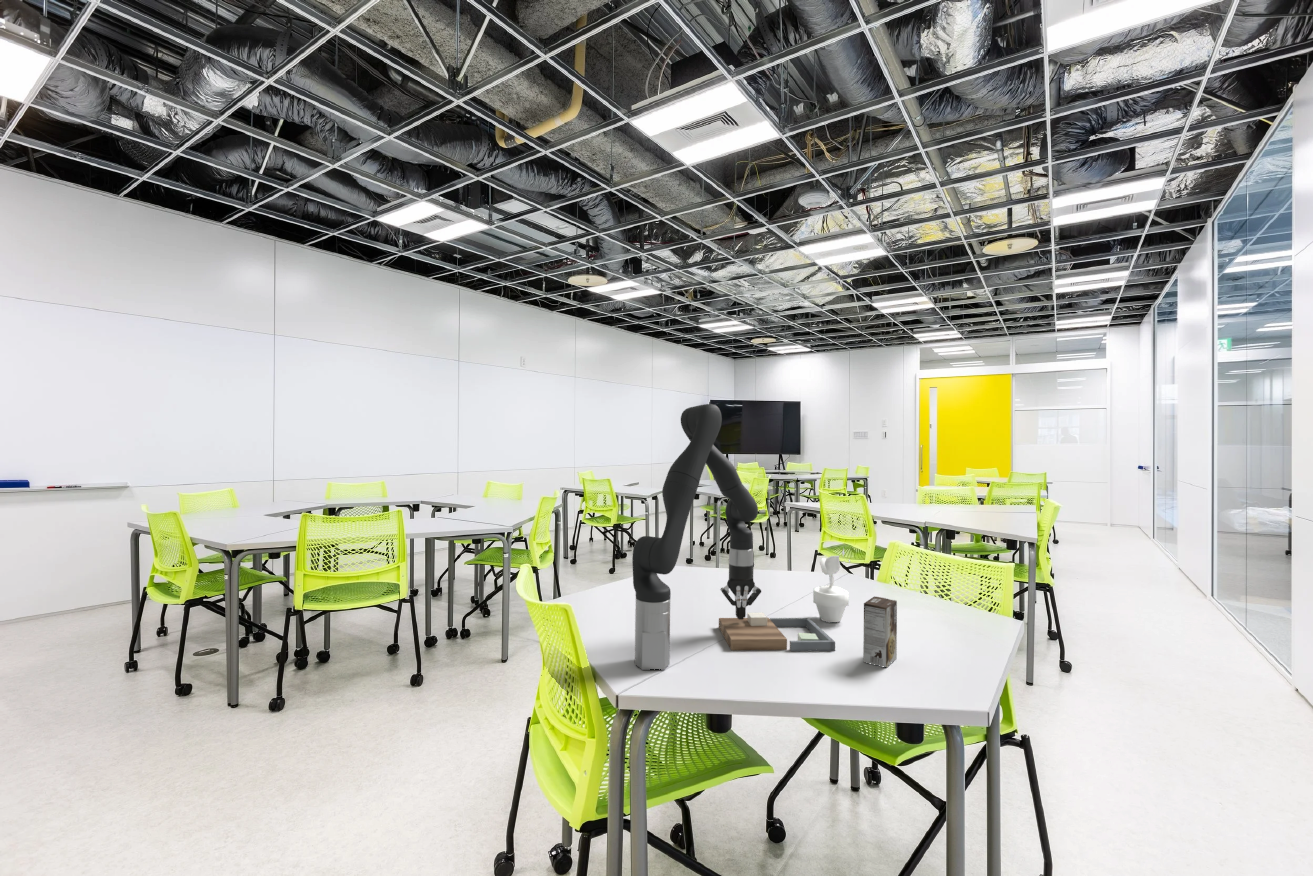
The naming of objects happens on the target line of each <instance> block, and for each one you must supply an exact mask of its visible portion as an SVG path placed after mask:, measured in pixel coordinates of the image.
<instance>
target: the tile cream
mask: <svg viewBox="0 0 1313 876" xmlns="http://www.w3.org/2000/svg"><path fill="white" fill-rule="evenodd" d="M746 616H747V617H746V618H747V621H748V622H749V624H750V625H751V626H767V618H768V616H767V615H766V614H765V613H764V612H747V614H746Z"/></svg>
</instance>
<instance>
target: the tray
mask: <svg viewBox="0 0 1313 876" xmlns="http://www.w3.org/2000/svg"><path fill="white" fill-rule="evenodd" d="M769 619H770V620H771V621H772V622H773V624H774V625H775V626H776V627H777V628H797V627H798V628H802V627H803V628H805V627H806V628H807V630H809V631H810V632H811V633H812V634H816V636H817V637H818V639H819V640H818V641H798V640H789V650H790V652H824V651H825V652H826V651H827V652H828V651H829V652H830V651H831V652H833V651H836V641H835V640H834V639H833V638H832V637H831V636H830V635H829V634H828V633H826V632H825V631H824V630H823V629H822V628H820V627H819V625H817V624H816V623H815V622H814V621H813V620H812V619H811V618H809V617H769Z"/></svg>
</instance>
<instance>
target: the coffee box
mask: <svg viewBox="0 0 1313 876" xmlns="http://www.w3.org/2000/svg"><path fill="white" fill-rule="evenodd" d="M897 610H898V602H897V600H895V599H890V598H886V597H881V596H880V597H879V596H873V597H871V598H870V599H868V600H867V601H865V602H864V603H863V643H862V645H863V648H862V649H863V652H862V653H863V655H862V656H863V663H864V662H867V663H871V664H875V665H880V666H884V667H887V666H888V665H889V664H890V663H891V662H892V663H894V662H895V661H896V660H897V655H898V654H897V653H898V651H897V650H898V649H897V644H898V642H897V640H898V638H897V637H898V635H897V633H898V631H897V630H898V624H897V623H898V621H897V619H898V618H897V617H898V616H897V615H898V611H897ZM867 663H866V664H867ZM892 663H891V664H892ZM871 664H870V665H871ZM891 664H890V665H891ZM875 665H874V666H875ZM890 665H889V666H890ZM889 666H888V667H889ZM888 667H887V668H888Z"/></svg>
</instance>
